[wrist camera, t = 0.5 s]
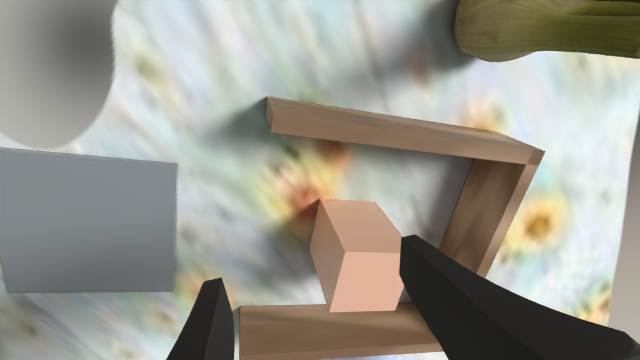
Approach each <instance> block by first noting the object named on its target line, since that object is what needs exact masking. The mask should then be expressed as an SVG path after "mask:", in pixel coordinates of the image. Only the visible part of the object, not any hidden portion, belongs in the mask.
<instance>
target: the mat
mask: <svg viewBox="0 0 640 360" xmlns="http://www.w3.org/2000/svg"><path fill="white" fill-rule="evenodd" d="M177 174H178V164H176V163H165V162H154V161H143V160H132V159H121V158H110V157H99V156H88V155H77V154H66V153H55V152H44V151H33V150H22V149H11V148H0V259H1V264H2V268H3V273H4V277H5V282H6V286H7V291H8V293H48V292H161V291H174V288H175V252H176V213H177Z"/></svg>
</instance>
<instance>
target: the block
mask: <svg viewBox="0 0 640 360" xmlns="http://www.w3.org/2000/svg"><path fill="white" fill-rule="evenodd" d="M401 238H402V235H401V234H400V233H399V231H398V230H397V229H396V228H395V226H394V225H393V224H392V223H391V221H390V220H389V219H388V217H387V216H386V215H385V214H384V212H383V211H382V210H381V208H380V207H379V206H378V205H377V203H376V202H364V201H350V200H336V199H322V198H320V201H319V206H318V210H317V215H316V220H315V225H314V229H313V234H312V239H311V244H310V248H309V249H310V253H311V256H312V259H313V262H314V265H315V268H316V272H317V275H318V278H319V281H320V284H321V287H322V291H323V294H324V297H325V300H326V303H327V306H328V310H329V312H360V311H394V310H395V309H396V307H397V304H398V301H399V298H400V296H401V293H402V290H403V287H404V284H403V282H402V280H401V278H400V275H399V266H400V249H401Z"/></svg>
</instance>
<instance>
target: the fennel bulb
mask: <svg viewBox="0 0 640 360" xmlns="http://www.w3.org/2000/svg"><path fill="white" fill-rule="evenodd" d="M454 37H455V39H456V42H457V45H458V48H459V49H460V51H462V52H463V53H465V54H468V55H470V56H474V57H477V58H479V59H481V60H484V61H488V62H504V61H510V60H514V59H517V58H520V57H523V56H526V55H528V54H531V53H533V52H536V51H564V52H582V53H589V54H600V55H607V56H617V57H626V58H635V59H639V58H640V0H460V1H459V3H458V6H457V9H456V22H455V27H454Z"/></svg>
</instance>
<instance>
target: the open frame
mask: <svg viewBox="0 0 640 360" xmlns="http://www.w3.org/2000/svg"><path fill="white" fill-rule="evenodd" d="M265 114H266V117H267V121H268V124H269V127H270V131H271V133H277V134H285V135H293V136H301V137H309V138H318V139H326V140H334V141H342V142H350V143H358V144H366V145H374V146H382V147H390V148H398V149H406V150H414V151H422V152H430V153H439V154H447V155H455V156H463V157H471V158H475V159H474V162H473V164H472V167H471V169H470V172H469V174H468V177H467V180H466V182H465V185H464V187H463V190H462V192H461V195H460V197H459V200H458V203H457V205H456V208H455V210H454V213H453V215H452V218H451V220H450V223H449V225H448V228H447V231H446V233H445V236H444V238H443V241H442V243H441V246H440V248H439V251H441V252H442V253H444V254H445V255H447V256H448V257H450V258H451V259H453V260H455V261H456V262H458V263H459V264H461V265H463V266H464V267H466V268H468V269H469V270H471V271H473V272H474V273H476V274H478V275H480V276H481V277H483V278H485V277H486V275H487V273H488V271H489V269H490V267H491V265H492V263H493V261H494V259H495V256H496V254H497V252H498V250H499V248H500V246H501V244H502V242H503V240H504V238H505V235H506V233H507V231H508V229H509V227H510V225H511V223H512V221H513V219H514V216H515V214H516V212H517V210H518V208H519V206H520V204H521V202H522V200H523V198H524V195H525V193H526V191H527V189H528V187H529V185H530V183H531V181H532V179H533V176H534V174H535V172H536V170H537V168H538V166H539V164H540V162H541V160H542V158H543V155H544V153H545V151H543V150H540V149H538V148H535V147H533V146H530V145H528V144H525V143H523V142H521V141H518V140H516V139H513V138H511V137H508V136H506V135H503V134H501V133H498V132H494V131H488V130H481V129H475V128H468V127H462V126H455V125H449V124H442V123H436V122H429V121H423V120H416V119H410V118H404V117H397V116H391V115H384V114H378V113H371V112H365V111H358V110H352V109H345V108H339V107H332V106H326V105H319V104H313V103H306V102H300V101H293V100H287V99H280V98H274V97H267V101H266V109H265ZM441 351H444V350H443V349H442V347H441V345H440V344H439V342H438V341H437V339H436V338H435V336H434V334H433V333H432V331H431V330H430V328H429V327H428V325H427V323H426V322H425V320H424V319H423V317H422V316H421V314H420V313H419V311H418V309H417V308H416V306H415V305H414V303H398V304H397V307H396V309H395V310H394V311H360V312H329V310H328V306H327V305H285V306H241V307H240V315H239V360H327V359H341V358H355V357H370V356H384V355H398V354H412V353H426V352H441Z"/></svg>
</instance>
